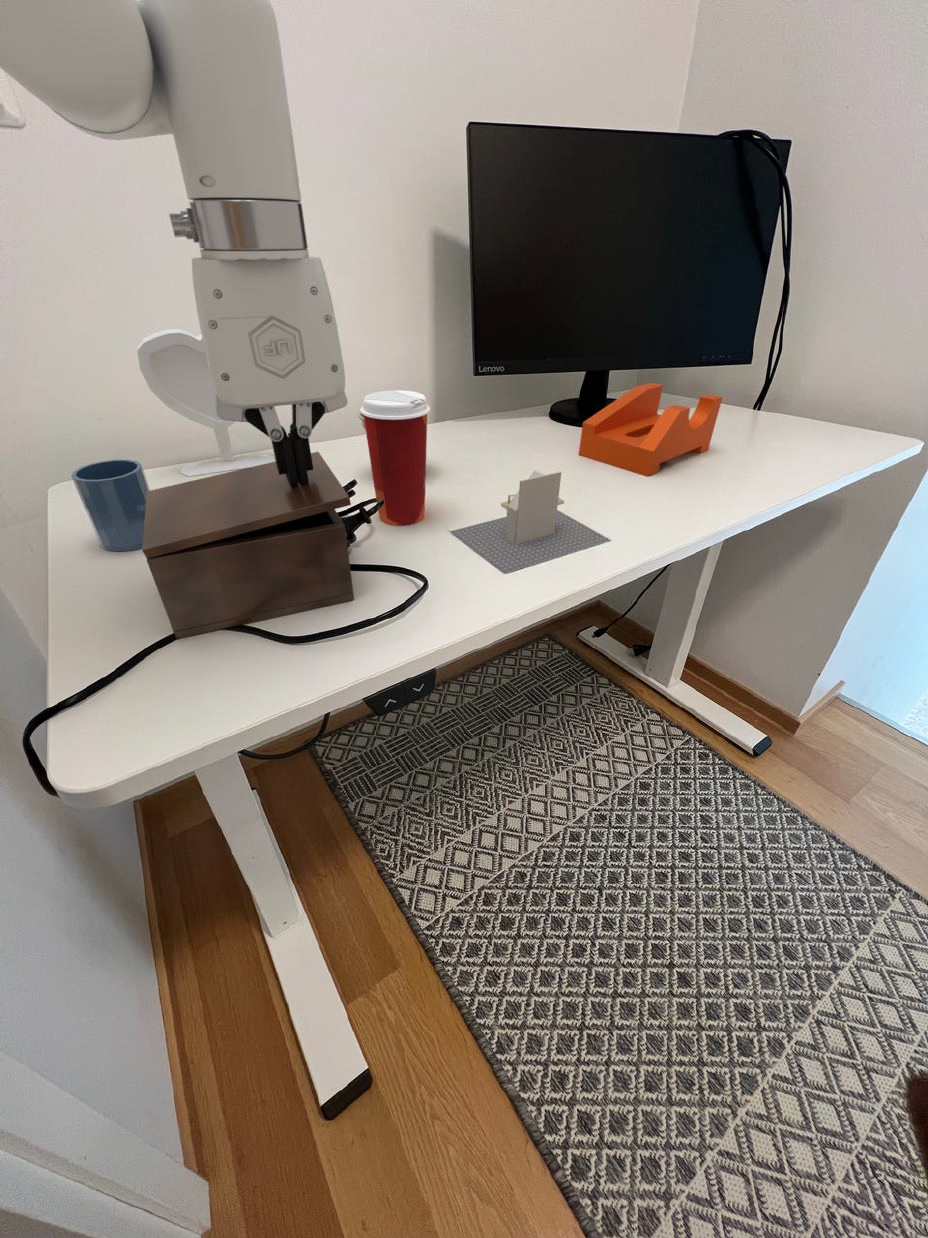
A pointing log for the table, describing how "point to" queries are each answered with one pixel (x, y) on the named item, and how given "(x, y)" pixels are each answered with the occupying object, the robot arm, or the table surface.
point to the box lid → (235, 505)
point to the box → (255, 575)
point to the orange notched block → (647, 430)
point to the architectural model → (530, 528)
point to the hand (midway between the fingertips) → (297, 479)
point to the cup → (114, 501)
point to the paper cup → (397, 452)
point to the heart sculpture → (190, 393)
